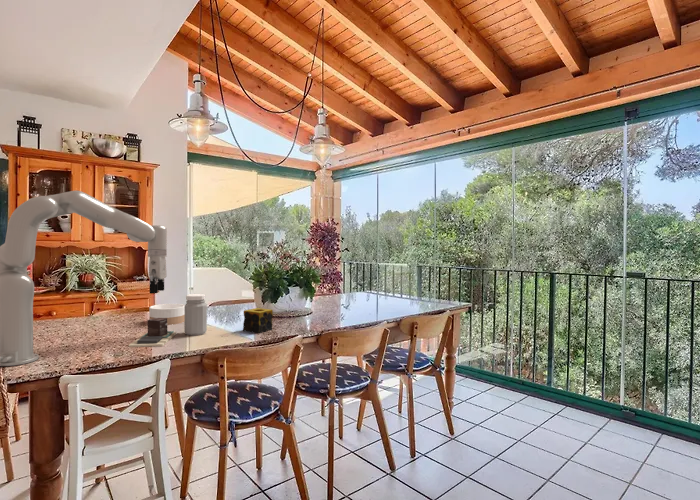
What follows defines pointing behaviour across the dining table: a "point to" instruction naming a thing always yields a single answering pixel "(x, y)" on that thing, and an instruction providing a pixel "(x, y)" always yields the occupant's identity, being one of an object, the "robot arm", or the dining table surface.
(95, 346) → the dining table surface
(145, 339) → the stamp board
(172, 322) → the bowl
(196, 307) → the jar
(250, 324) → the candle
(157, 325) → the box
